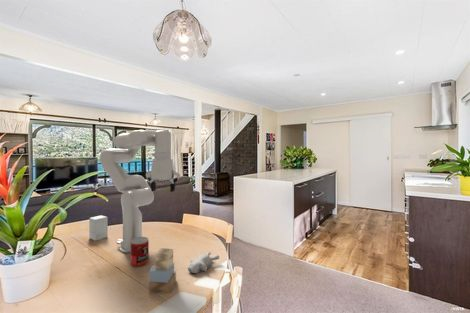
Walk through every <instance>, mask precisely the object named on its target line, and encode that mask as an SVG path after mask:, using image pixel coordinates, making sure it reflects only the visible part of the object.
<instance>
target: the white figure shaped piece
mask: <svg viewBox="0 0 470 313" xmlns="http://www.w3.org/2000/svg"><path fill="white" fill-rule="evenodd" d="M211 255H212V252H210V251H207V252H206V253H202V254H199V255H198V256H197V258H193V259H192V258H191V259H190V263H189V265H188V267H187V271H188V272H190V273H192V274H197V275H198V274H199V272H201V271H203V272H207V271H208V268H210V266H211V264H212V262H213V261H216V260H220V255H219V254H215V255H212V256H211Z"/></svg>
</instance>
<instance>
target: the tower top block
mask: <svg viewBox="0 0 470 313" xmlns="http://www.w3.org/2000/svg"><path fill="white" fill-rule="evenodd" d="M174 271H175V263H174V262H173V265H172V266H171V267H170V268H169V269H168V270H158V269H155V264H154V265H153V266H152V267H151V269H150V270H149V273H148V274H149V275H148V276H149V278H148V282H165V283H168V281H169V280H170V278H171V277H172V275H173V274H174Z"/></svg>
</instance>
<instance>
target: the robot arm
mask: <svg viewBox="0 0 470 313" xmlns="http://www.w3.org/2000/svg"><path fill="white" fill-rule="evenodd" d="M113 145H114V146H115V148H107V149H104V150H102V151H101V152H100V155H99V161H100V165H101V167H102V168H103V170H104V171H105V173H106V174H107V176H109V178H110V180H111V181H112V183H113V185H114V187H115V189H116V190H117V191H118V192H119V193H122V194H121V196H120V203H121V209H122V239H121V238H118V239H117V241H116V245H120V247H119V251H120V252H121V253H126V254H129V253H130V254H131V240H132V239H134V238H137V237H143V213H142V212H141V210H140V208H139V207H143V206H149V205H150V204H152V203H153V202H154V199H155V195H154V192H155V191H157V190H156V188H157V187H156V186H157V183H156V181H157V180H159V181H163V180H165V181H168V180H169V182H170V186H169V187H170V190H169V192H171V193H173V192H175V190H176V183H177V181H179V179H180V177H181V173H179V172H177V171H175V169H174V168H175V167H174V166H175V165H174V161H173V158H172V133H171V132H170V131H169V130H164V129H163V130H162V129H161V130H155V131H154V130H148V129H147V130H146V129H145V130H144V129H138V130H131V131H130V132H129V133H120V134H118V135H117V136H115V137H114V139H113ZM142 146H143V147H144V146H146V147H147V146H148V147H154V153H152V155H151V156H152V157H154V158H153V159H152V163H151V167H150V168H151V170H150V171H149V172H147V173H145V177H146V178H147V181H148V182H149V183H150V185H149V184H148V182H147V181H146V179H145V177H144V176H142V175H139V174H129V173H127V171H126V169H125V168H123V166H121V165H120V164H128V163H131V162H133V160H134V159H135V157H136V155H137V153H138V152H139V150H140V149H141V148H142Z"/></svg>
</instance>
